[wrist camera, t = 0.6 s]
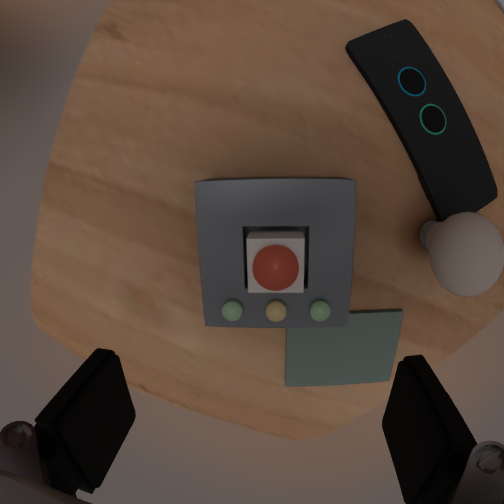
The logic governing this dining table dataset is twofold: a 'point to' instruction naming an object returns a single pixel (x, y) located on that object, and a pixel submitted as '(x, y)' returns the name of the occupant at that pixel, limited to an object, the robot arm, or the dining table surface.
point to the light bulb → (464, 252)
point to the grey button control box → (276, 218)
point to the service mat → (344, 350)
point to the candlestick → (500, 4)
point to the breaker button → (275, 261)
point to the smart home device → (426, 117)
